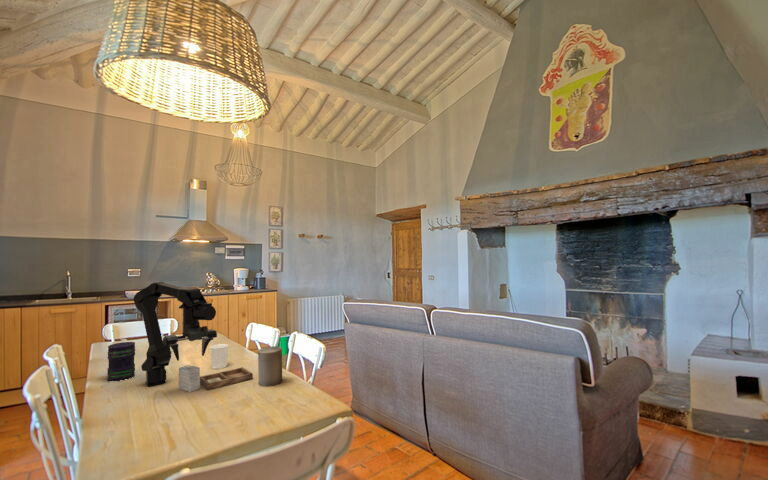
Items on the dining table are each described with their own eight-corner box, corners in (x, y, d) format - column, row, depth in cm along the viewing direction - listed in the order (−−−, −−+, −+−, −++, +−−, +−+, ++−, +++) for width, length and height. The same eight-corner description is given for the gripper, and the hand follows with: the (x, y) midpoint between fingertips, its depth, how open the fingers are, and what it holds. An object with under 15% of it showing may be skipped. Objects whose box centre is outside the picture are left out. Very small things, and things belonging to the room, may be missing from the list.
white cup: (223, 369, 166) (223, 348, 167) (207, 369, 166) (207, 348, 167) (231, 364, 174) (231, 343, 174) (215, 364, 174) (215, 344, 175)
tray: (207, 390, 140) (207, 384, 140) (199, 382, 149) (199, 376, 149) (252, 379, 152) (252, 373, 152) (242, 372, 161) (242, 367, 161)
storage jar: (111, 384, 149) (111, 348, 150) (104, 379, 155) (104, 345, 156) (138, 377, 157) (138, 343, 158) (130, 373, 163) (130, 340, 164)
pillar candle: (285, 378, 152) (285, 343, 153) (276, 386, 142) (276, 349, 143) (264, 378, 153) (264, 343, 154) (253, 386, 143) (253, 349, 144)
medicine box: (200, 389, 142) (200, 367, 142) (189, 392, 138) (189, 370, 138) (189, 385, 146) (189, 364, 146) (178, 389, 142) (178, 367, 142)
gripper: (169, 325, 131) (169, 367, 131) (221, 318, 144) (221, 357, 144) (162, 321, 140) (162, 361, 139) (212, 315, 152) (212, 352, 152)
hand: (190, 358), depth 143 cm, fingers open, 9 cm apart
